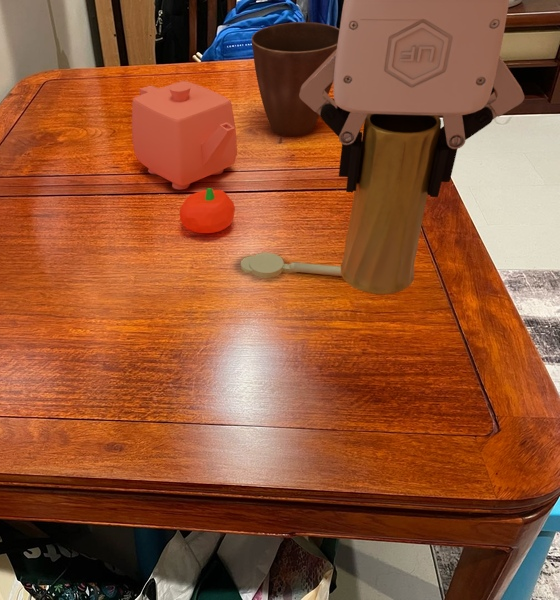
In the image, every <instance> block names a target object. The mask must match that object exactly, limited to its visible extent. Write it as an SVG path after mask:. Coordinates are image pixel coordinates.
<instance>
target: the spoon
mask: <svg viewBox="0 0 560 600" xmlns="http://www.w3.org/2000/svg"><path fill="white" fill-rule="evenodd" d="M240 269H241V270H242V271H243V272H245V273H247V274H252V275H253V276H256V277H258V278H264V279H269V278H275V277H277V276H279V275H281V274H282V273H284V272H286V273H294V274H297V273H304V274H315V275H325V276H332V277H333V276H334V277H342V275H341V265H340V266H339V265H329V264H318V263H309V262H308V263H307V262H297V261H292V262H290V263H285V262H284V259H283V258H282V257H281V256H280V255H278V254H276V253H273V252H260V253H256V254H254V255H249V256H245V257H244V258H242V259H241V261H240Z"/></svg>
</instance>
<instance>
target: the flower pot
mask: <svg viewBox="0 0 560 600" xmlns="http://www.w3.org/2000/svg"><path fill="white" fill-rule="evenodd" d="M339 30H340V27H339V28H338V27H336V26H333V25H330V24H325V23H320V22H311V21H310V22H309V21H307V22H306V21H298V22H296V21H295V22H285V23H278V24H273V25H270V26H266V27H263V28H260V29H258V30H257V31H256V32H254V33H253V34H252V36H251V47H252V54H253V63H254V69H255V76H256V82H257V86H258V90H259V95H260V99H261V102H262V103H261V104H262V106H263V109H264V112H265V115H266V118H267V121H268V124H269V127H270V130H271V131H272V132H273V133H274V134H276V135H278V136H282V137H288V138H289V137H290V138H294V137H295V138H296V137H302V136H306V135H308V134H310V133H311V132H313V130H314V129H315V126H316V124H317V122H318V120H319V118H320V117H321V116H320V115H319V114H318V113H315V112H314V111H313V110H312V109H311V108H310V107H309V106H308V105H306V104H305V103H304V102H303V101H302V100H301V99H300V97H299V93H300V89H301V86H302V84H303V83H304V82H305V81H306V80H307V79H308V78H309V77H310V76H311V75H312V74H313V73H314V72H315V71H316V70H317V69H318V68H319V67H320V66H321V65H322V64H323V63H324V61H325V60H326V59H327V58H328V57H329V56H330V55H331V54H332V53H333V52H334V51H335V50H336V49H337V44H338V37H339ZM333 82H334V81H333ZM333 82H332V83H331V84H330V85H329V86H328V87H327V88H326V89H325V92H326V93H327V94H328V95H329V94H330V91H331V90H332V87H333Z"/></svg>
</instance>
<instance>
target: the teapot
mask: <svg viewBox="0 0 560 600" xmlns="http://www.w3.org/2000/svg"><path fill="white" fill-rule="evenodd" d="M138 92H139V95H137V96H135V97H133V98H132V103H131V104H132V107H131V110H132V111H131V138H132V139H131V140H132V148H133V151H134V156H135V157H136V159H137V161H138V162H139V163H141V164H142V165H143V166H145V168H147V169H148V170H147V172H148V173H149V174H151V175H158V176H159V177H161V178H163V179H165V180H167V181H168V182H171V184H172V185H171V187H172V188H173V189H174V190H185V189H188V188H189V187H190V186H191V184H192V183H195V182H197V181H199V180H202V179H204V178H206V177H210V176H211V175H213V176H217V175H220V174H222V173H224V169H225V170H226V169H227V168H229V167H231V166H233V165H234V164H235V163H236V159H237V155H238V142H237V130H236V121H235V116H234V110H233V105H232V101H231V99H229V98H227V97H226V96H224V95H222V94H221V93H218V92H217V91H214V90H211V89H209V88H207V87H205V86H202V85H199V84H196V83H195V82H190V81H187V80H180V81H177V82H174V83H171V84H167V85H165V86H161V87H160V88H159V87H158V86H154V85H151V84H150V85H146V86H143V87H141V88H139V91H138Z"/></svg>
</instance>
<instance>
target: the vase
mask: <svg viewBox="0 0 560 600" xmlns="http://www.w3.org/2000/svg"><path fill="white" fill-rule="evenodd" d="M440 117H441V116H440V115H397V114H368V115H367V117H366V119H365V121H364V123H363V129H362V147H361V156H360V163H359V171H358V178H357V186H356V191H353V199H352V204H351V210H350V216H349V221H348V227H347V232H346V239H345V244H344V250H343V256H342V260H341V264H340V267H341V275H342V276H341V278H342V279H343V280H344V281H345V282H346V283H347V284H348V285H349V286H350V287H352V288H353V289H355V290H357V291H360V292H364V293H367V294H371V295H380V296H386V295H388V296H389V295H394V294H398V293H400V292H402V291H405V290H406V289H408V288H410V286H411V285H412V283H413V282H414V279H415V262H416V257H417V251H418V248H419V242H420V235H421V230H422V224H423V220H424V215H425V210H426V206H427V205H426V204H427V198H428V193H427V190H428V185H429V180H430V175H431V170H432V165H433V160H434V155H435V150H436V145H437V141H438V137H439V132H440V128H442V119H441V118H440Z"/></svg>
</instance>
